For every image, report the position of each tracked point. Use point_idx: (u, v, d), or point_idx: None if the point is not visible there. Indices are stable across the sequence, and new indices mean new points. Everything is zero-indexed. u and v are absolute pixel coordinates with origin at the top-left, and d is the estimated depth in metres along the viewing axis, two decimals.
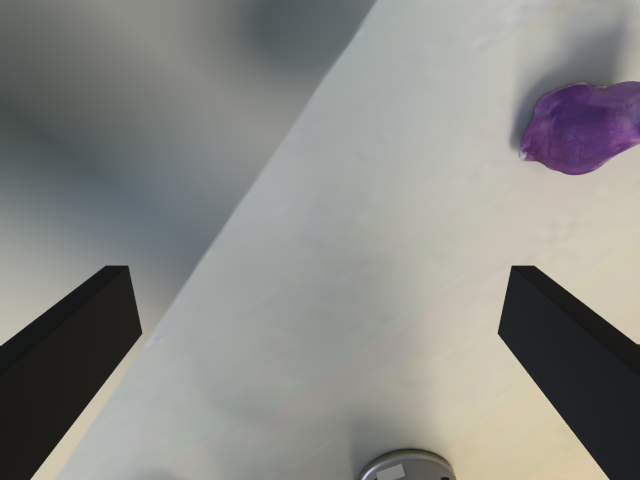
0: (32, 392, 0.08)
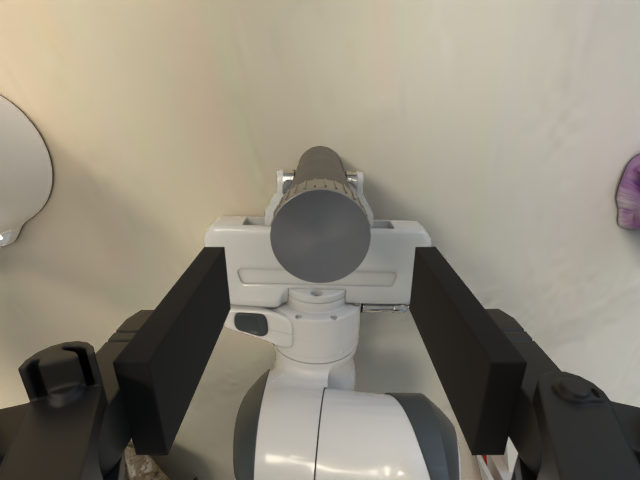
0: (184, 345, 0.10)
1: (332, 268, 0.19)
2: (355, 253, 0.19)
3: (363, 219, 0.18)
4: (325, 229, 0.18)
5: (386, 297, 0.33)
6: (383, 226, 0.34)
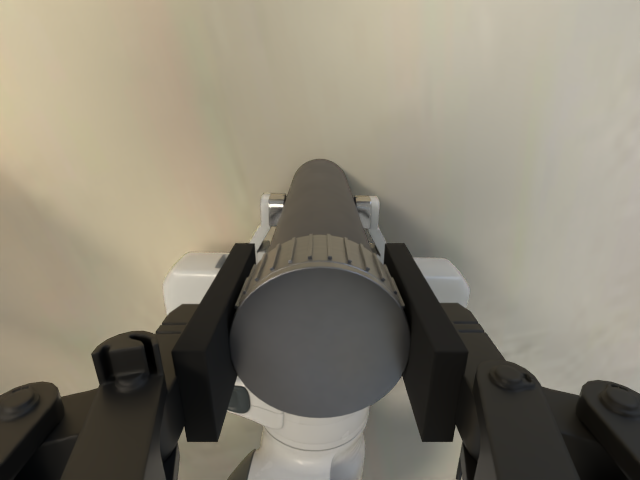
0: (228, 337, 0.10)
1: (341, 396, 0.11)
2: (382, 373, 0.10)
3: (399, 318, 0.10)
4: (329, 334, 0.10)
5: None
6: None
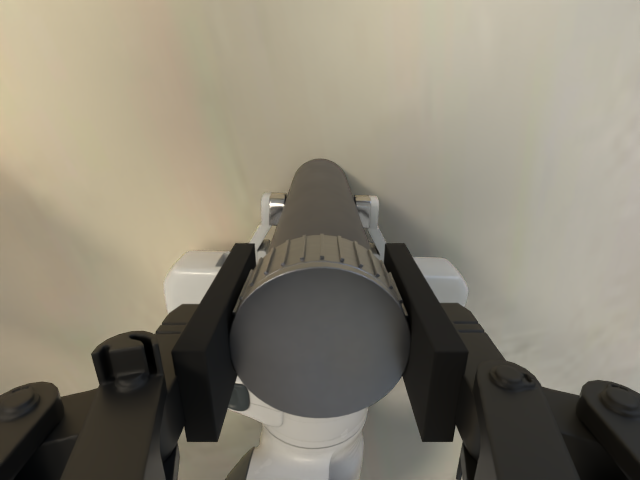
0: (228, 337, 0.10)
1: (358, 303, 0.10)
2: (306, 288, 0.09)
3: (243, 312, 0.10)
4: (300, 351, 0.10)
5: None
6: None
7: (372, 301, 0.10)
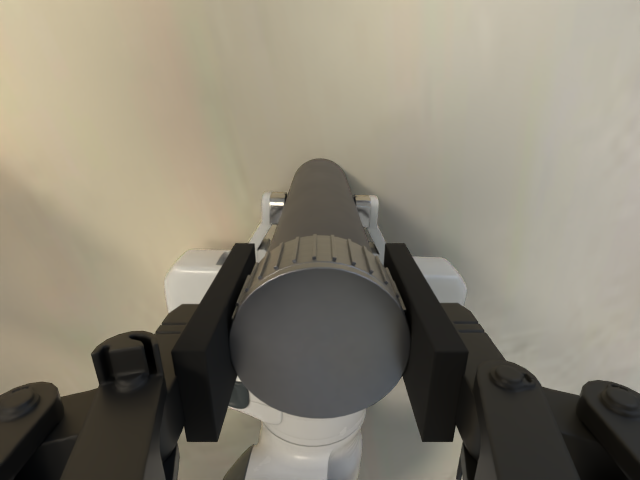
0: (228, 337, 0.10)
1: (255, 350, 0.10)
2: (272, 389, 0.11)
3: (325, 413, 0.11)
4: (332, 362, 0.10)
5: None
6: None
7: (245, 342, 0.10)
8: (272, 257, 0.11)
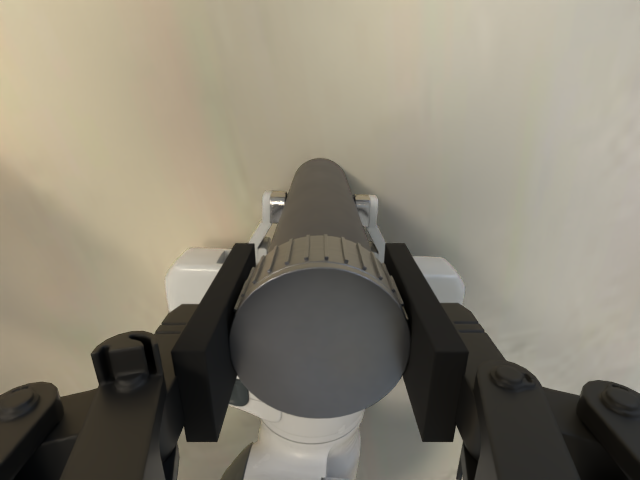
0: (228, 337, 0.10)
1: (354, 391, 0.11)
2: (388, 360, 0.10)
3: (389, 303, 0.10)
4: (324, 334, 0.10)
5: None
6: None
7: (352, 401, 0.11)
8: None
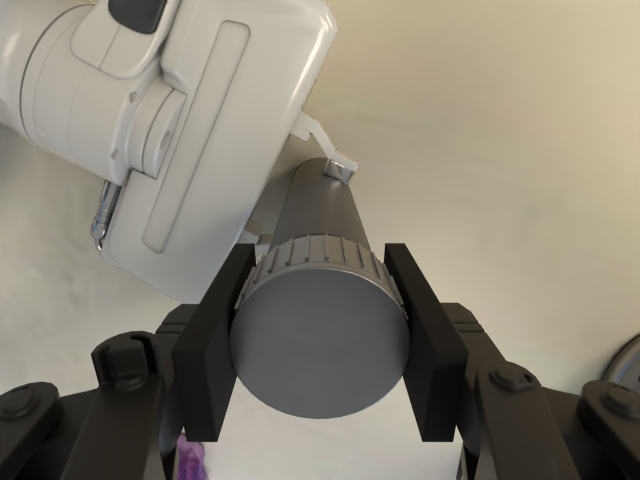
0: (228, 337, 0.10)
1: (354, 391, 0.11)
2: (388, 361, 0.10)
3: (389, 303, 0.10)
4: (324, 334, 0.10)
5: (124, 228, 0.22)
6: None
7: (351, 401, 0.11)
8: None
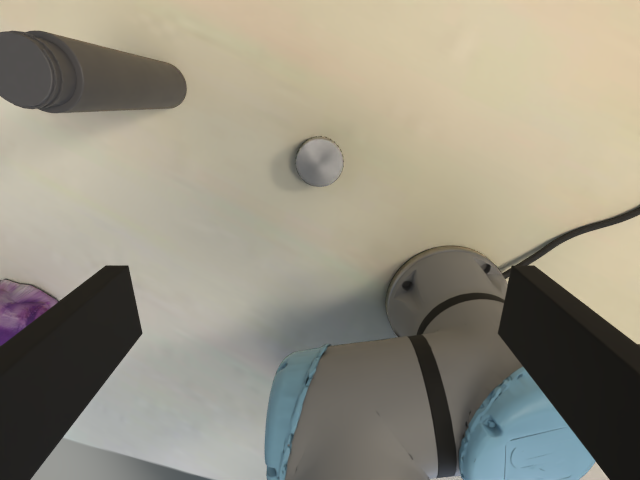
0: (32, 392, 0.08)
1: (329, 176, 0.39)
2: (337, 166, 0.39)
3: (336, 149, 0.38)
4: (320, 158, 0.39)
5: None
6: None
7: (328, 180, 0.40)
8: None
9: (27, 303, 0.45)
